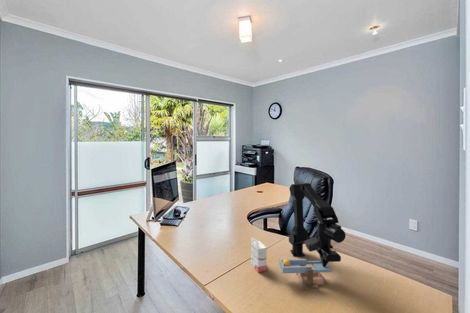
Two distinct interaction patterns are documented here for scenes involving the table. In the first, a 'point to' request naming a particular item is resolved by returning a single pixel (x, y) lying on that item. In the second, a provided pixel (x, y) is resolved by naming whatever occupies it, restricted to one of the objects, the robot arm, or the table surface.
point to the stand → (309, 280)
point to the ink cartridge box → (258, 255)
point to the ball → (286, 263)
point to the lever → (297, 268)
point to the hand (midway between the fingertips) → (324, 266)
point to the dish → (317, 278)
